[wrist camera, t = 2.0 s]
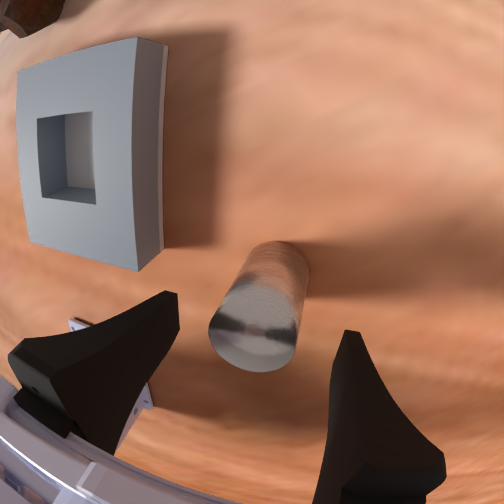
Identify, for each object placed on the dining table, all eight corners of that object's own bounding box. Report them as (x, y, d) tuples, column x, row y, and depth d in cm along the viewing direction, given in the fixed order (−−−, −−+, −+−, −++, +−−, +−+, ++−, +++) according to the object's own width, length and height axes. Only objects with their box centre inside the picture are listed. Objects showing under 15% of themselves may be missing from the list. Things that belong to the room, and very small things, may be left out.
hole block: (164, 248, 19) (138, 272, 16) (57, 226, 20) (30, 241, 18) (168, 46, 13) (137, 36, 11) (49, 70, 15) (18, 71, 12)
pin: (303, 303, 18) (287, 379, 13) (243, 291, 18) (208, 360, 13) (314, 247, 16) (303, 315, 11) (248, 235, 17) (208, 295, 12)
